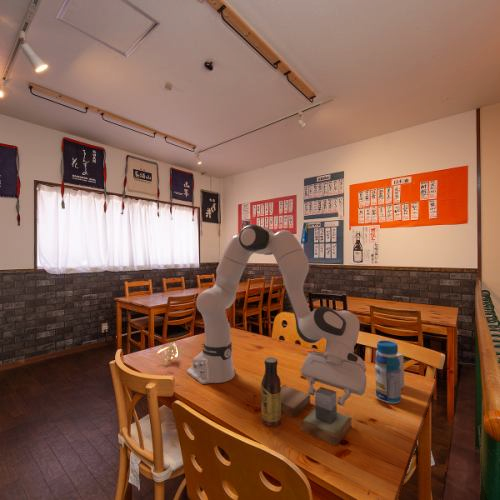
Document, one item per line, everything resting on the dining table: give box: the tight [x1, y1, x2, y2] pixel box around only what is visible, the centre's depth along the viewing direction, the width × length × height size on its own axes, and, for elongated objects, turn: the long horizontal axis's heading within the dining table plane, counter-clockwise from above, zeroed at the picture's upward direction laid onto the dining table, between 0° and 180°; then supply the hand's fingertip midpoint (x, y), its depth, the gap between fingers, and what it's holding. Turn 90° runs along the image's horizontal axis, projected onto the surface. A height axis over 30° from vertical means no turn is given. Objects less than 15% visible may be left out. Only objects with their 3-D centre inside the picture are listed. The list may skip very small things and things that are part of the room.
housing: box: [314, 386, 338, 424], centre depth 84 cm, size 5×4×8 cm
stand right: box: [300, 408, 352, 447], centre depth 84 cm, size 11×11×3 cm
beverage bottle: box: [374, 340, 402, 405], centre depth 100 cm, size 8×8×20 cm
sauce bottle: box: [260, 356, 282, 427], centre depth 87 cm, size 7×6×20 cm
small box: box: [375, 349, 405, 389], centre depth 110 cm, size 8×6×13 cm
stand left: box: [281, 385, 311, 418], centre depth 97 cm, size 11×11×3 cm
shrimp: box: [155, 342, 180, 367], centre depth 136 cm, size 11×15×9 cm
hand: (325, 399), depth 83 cm, fingers open, 8 cm apart
